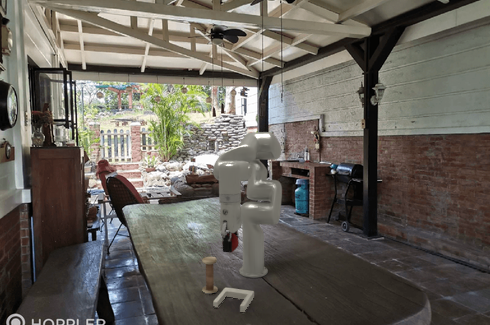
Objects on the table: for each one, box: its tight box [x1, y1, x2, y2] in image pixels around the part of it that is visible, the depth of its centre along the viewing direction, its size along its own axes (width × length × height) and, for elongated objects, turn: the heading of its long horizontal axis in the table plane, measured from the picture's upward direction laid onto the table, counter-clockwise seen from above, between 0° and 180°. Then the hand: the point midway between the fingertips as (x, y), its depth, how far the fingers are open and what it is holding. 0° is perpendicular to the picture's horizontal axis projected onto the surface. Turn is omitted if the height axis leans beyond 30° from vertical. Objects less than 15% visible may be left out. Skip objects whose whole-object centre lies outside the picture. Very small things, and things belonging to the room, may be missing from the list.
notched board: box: [212, 287, 255, 313], centre depth 126 cm, size 12×12×2 cm
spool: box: [201, 256, 219, 293], centre depth 135 cm, size 6×6×13 cm
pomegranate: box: [221, 233, 240, 254], centre depth 122 cm, size 6×6×8 cm
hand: (230, 248), depth 122 cm, fingers closed on pomegranate, 5 cm apart
